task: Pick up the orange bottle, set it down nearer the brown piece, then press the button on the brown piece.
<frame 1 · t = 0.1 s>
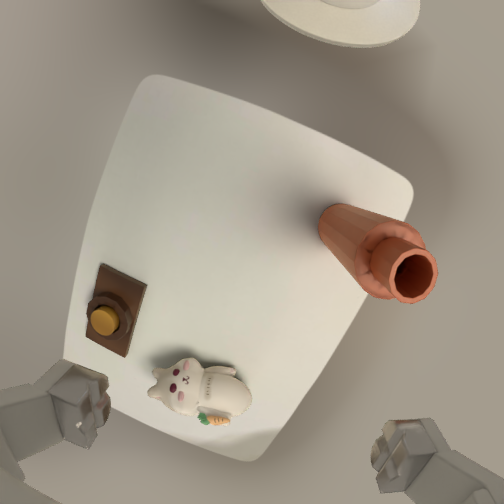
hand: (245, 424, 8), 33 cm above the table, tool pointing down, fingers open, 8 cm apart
brown piece: (115, 311, 44), on the table
button: (104, 320, 40), point 3 cm above the table, slide at 0.1 cm
orange bottle: (340, 227, 39), on the table
cat figurine: (205, 376, 45), on the table
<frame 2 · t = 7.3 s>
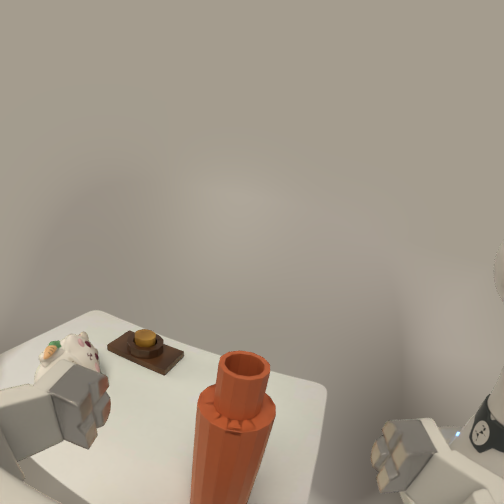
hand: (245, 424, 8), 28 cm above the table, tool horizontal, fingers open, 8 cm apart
brown piece: (145, 353, 55), on the table
button: (145, 338, 54), point 3 cm above the table, slide at 0.1 cm
cat figurine: (71, 386, 41), on the table
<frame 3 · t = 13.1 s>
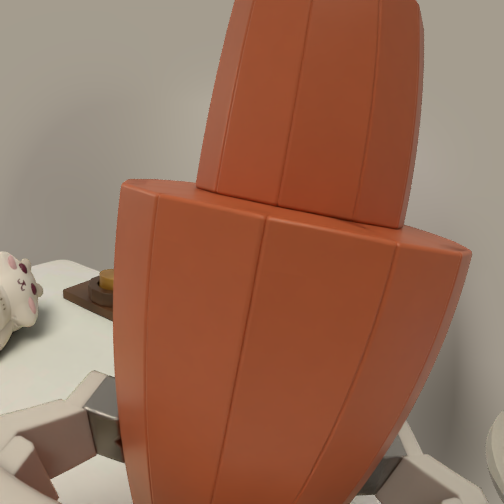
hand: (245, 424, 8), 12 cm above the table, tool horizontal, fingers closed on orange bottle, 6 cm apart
brown piece: (113, 304, 38), on the table
button: (114, 280, 38), point 3 cm above the table, slide at 0.1 cm
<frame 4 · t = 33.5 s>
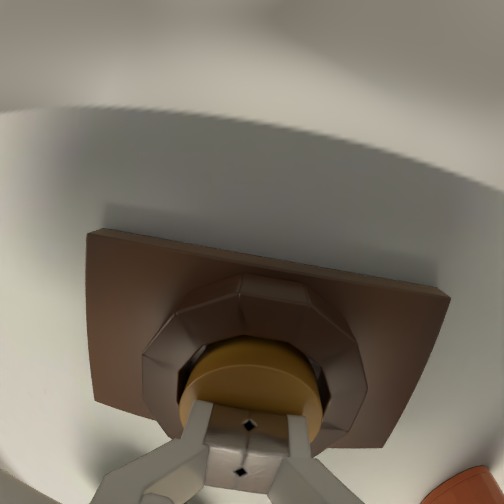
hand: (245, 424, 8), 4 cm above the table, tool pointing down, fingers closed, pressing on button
brown piece: (256, 353, 12), on the table
button: (251, 403, 9), point 3 cm above the table, slide at -0.3 cm, touching gripper
orange bottle: (454, 491, 14), on the table
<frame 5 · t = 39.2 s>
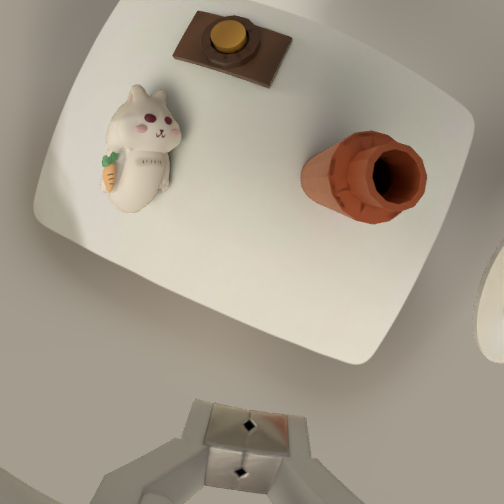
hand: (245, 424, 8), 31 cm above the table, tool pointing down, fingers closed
brown piece: (232, 47, 33), on the table
button: (229, 36, 30), point 3 cm above the table, slide at 0.1 cm
orange bottle: (325, 179, 36), on the table
cat figurine: (149, 152, 37), on the table
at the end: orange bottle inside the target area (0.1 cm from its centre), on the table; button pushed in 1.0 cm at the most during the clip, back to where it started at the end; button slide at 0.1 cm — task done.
